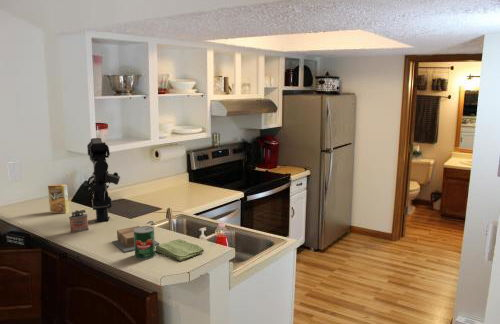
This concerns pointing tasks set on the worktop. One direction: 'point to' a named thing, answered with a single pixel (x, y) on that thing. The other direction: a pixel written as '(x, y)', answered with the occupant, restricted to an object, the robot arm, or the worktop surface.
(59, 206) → the candy box
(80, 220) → the red patterned tin
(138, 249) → the canned tomato
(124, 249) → the mat
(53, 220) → the worktop surface
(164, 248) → the washcloth
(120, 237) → the walnut slab
